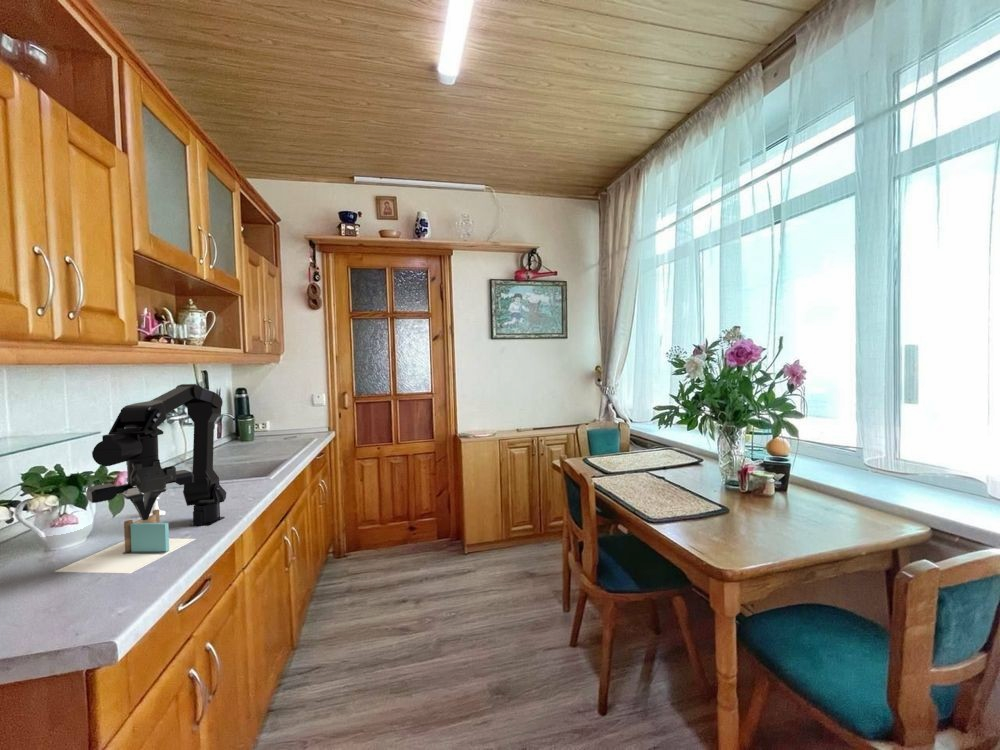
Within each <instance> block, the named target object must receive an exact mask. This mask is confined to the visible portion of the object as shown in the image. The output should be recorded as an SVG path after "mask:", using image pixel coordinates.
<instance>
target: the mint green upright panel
mask: <svg viewBox="0 0 1000 750" xmlns="http://www.w3.org/2000/svg"><path fill="white" fill-rule="evenodd" d="M130 526H131V552H152V551H168V550H169V538H170V535H169V534H170V531H169V529H170V528H169V522H160V523H133V524H130Z"/></svg>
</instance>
